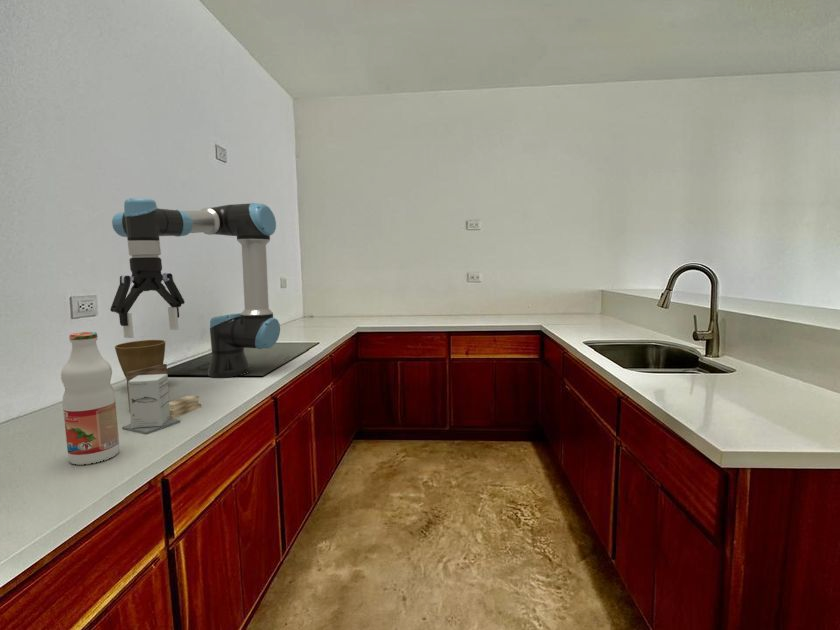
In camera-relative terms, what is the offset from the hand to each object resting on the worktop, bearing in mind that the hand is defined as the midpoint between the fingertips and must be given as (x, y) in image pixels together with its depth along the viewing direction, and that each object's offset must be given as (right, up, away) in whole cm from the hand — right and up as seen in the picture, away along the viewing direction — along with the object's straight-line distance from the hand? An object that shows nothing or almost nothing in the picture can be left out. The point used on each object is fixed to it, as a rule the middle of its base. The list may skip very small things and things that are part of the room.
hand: (152, 333), depth 128 cm
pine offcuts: (+5, -23, +5) cm, 25 cm away
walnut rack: (-7, -23, +10) cm, 26 cm away
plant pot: (-21, -21, +31) cm, 43 cm away
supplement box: (+3, -24, -6) cm, 25 cm away
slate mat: (+3, -24, -6) cm, 25 cm away
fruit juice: (+2, -27, -25) cm, 37 cm away
